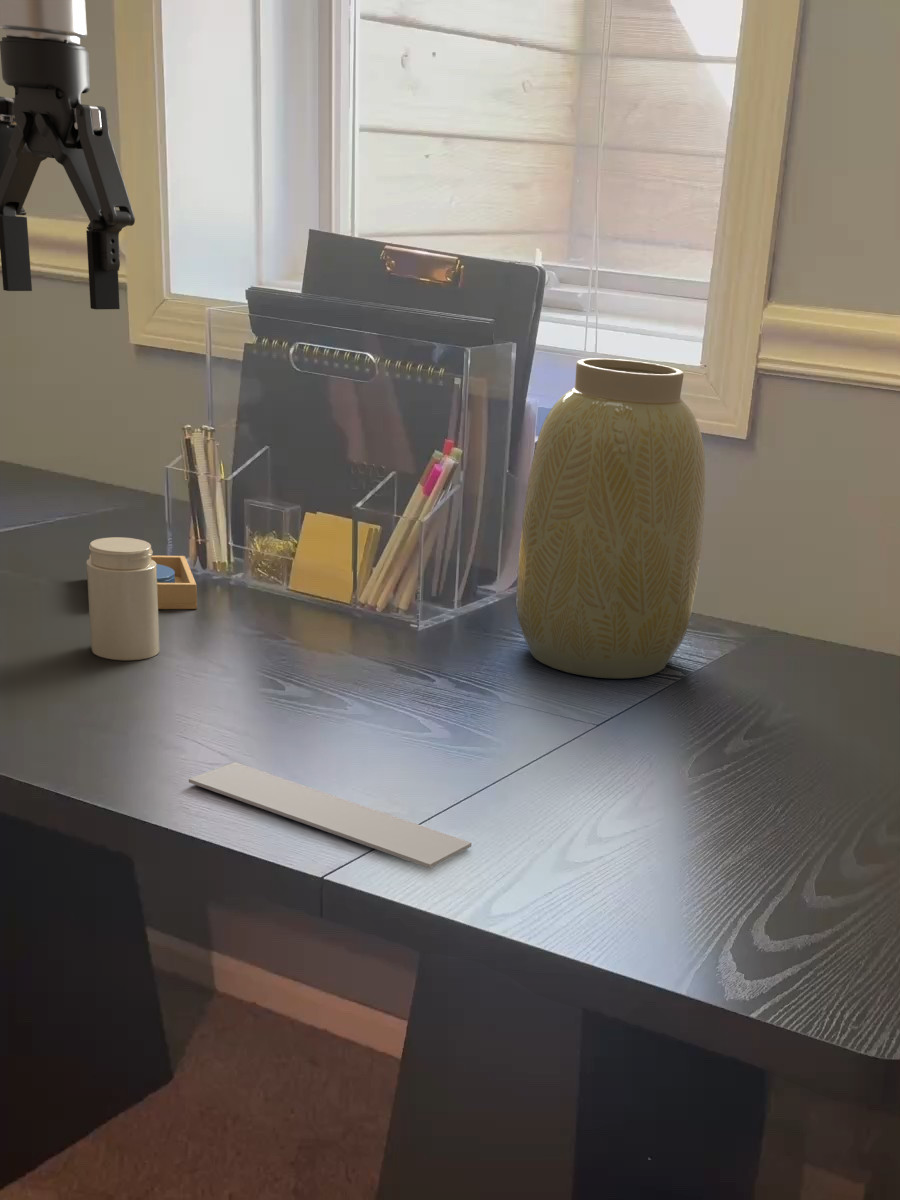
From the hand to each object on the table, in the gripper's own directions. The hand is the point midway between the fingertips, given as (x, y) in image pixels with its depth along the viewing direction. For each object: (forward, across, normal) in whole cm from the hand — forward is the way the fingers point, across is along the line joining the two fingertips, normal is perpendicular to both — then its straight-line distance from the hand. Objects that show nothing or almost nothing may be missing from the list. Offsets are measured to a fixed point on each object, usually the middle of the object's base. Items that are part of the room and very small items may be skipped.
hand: (60, 300), depth 140 cm
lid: (+25, -8, -2) cm, 26 cm away
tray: (+27, -8, -2) cm, 28 cm away
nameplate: (+27, -61, +24) cm, 70 cm away
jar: (+27, -22, +11) cm, 36 cm away
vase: (+27, -50, -24) cm, 62 cm away
